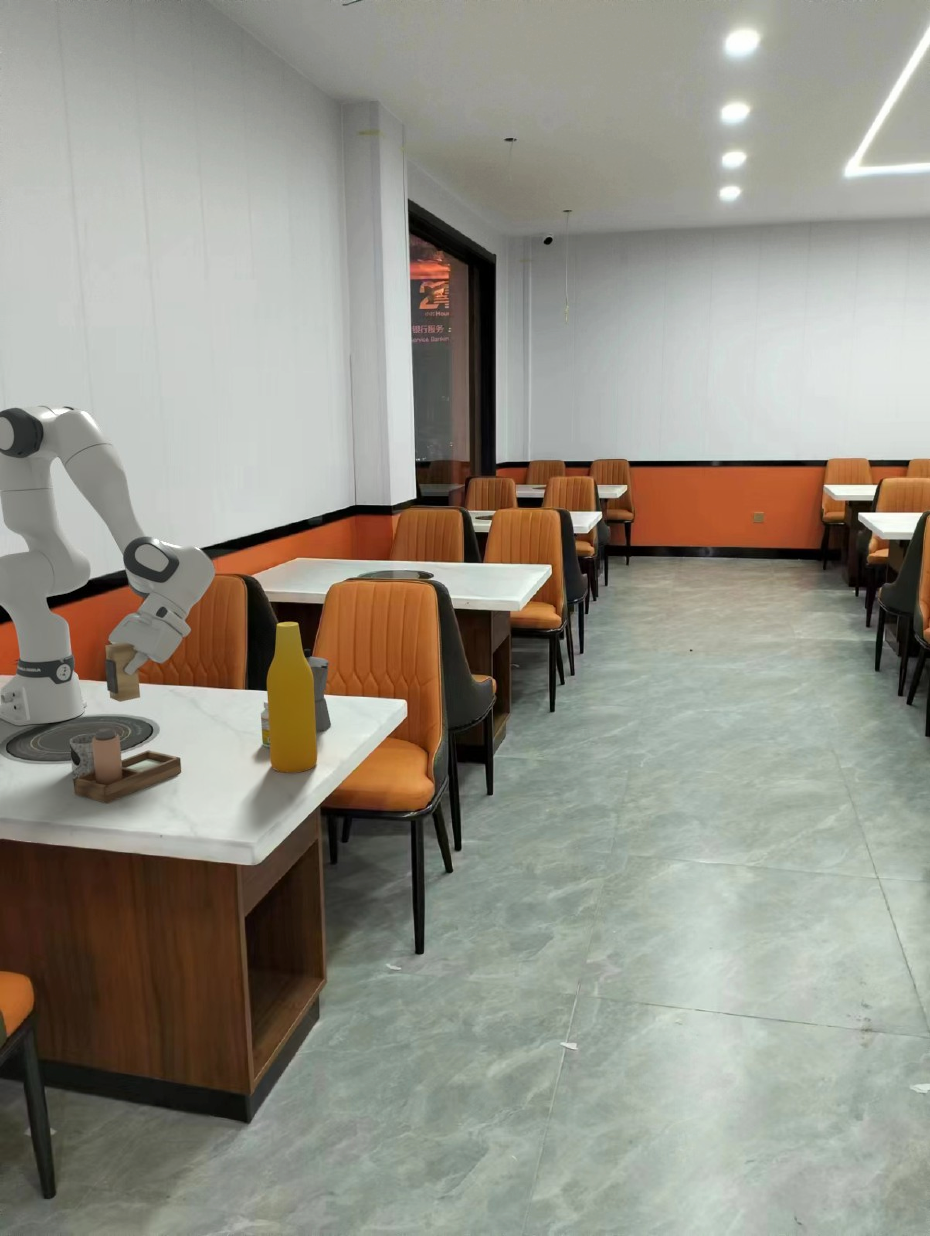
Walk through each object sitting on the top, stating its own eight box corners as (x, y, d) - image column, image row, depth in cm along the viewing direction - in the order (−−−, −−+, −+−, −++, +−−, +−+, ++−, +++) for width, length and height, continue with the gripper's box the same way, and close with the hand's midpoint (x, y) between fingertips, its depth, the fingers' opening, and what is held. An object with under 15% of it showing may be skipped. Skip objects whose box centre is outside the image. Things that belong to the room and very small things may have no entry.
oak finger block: (107, 698, 203) (102, 645, 201) (130, 693, 207) (125, 641, 204) (116, 702, 200) (112, 649, 198) (140, 697, 204) (135, 645, 201)
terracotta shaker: (90, 784, 186) (85, 732, 184) (111, 776, 190) (106, 725, 188) (108, 789, 183) (103, 736, 181) (128, 781, 187) (124, 729, 185)
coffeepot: (345, 727, 222) (342, 649, 219) (313, 738, 215) (309, 657, 212) (301, 714, 232) (298, 639, 229) (269, 724, 225) (264, 647, 222)
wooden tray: (74, 794, 185) (73, 778, 185) (149, 764, 200) (148, 750, 200) (107, 803, 181) (105, 787, 180) (181, 772, 196) (180, 757, 195)
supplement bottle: (278, 738, 216) (276, 695, 214) (293, 743, 212) (291, 700, 210) (257, 744, 212) (255, 700, 210) (271, 750, 208) (269, 705, 206)
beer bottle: (273, 758, 203) (266, 619, 197) (319, 756, 204) (313, 618, 198) (268, 774, 194) (260, 629, 188) (315, 772, 195) (309, 628, 189)
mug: (71, 767, 199) (68, 736, 198) (106, 762, 202) (103, 731, 200) (74, 784, 190) (71, 751, 189) (111, 779, 193) (108, 746, 191)
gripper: (126, 600, 212) (86, 653, 207) (173, 613, 197) (131, 670, 193) (147, 617, 216) (108, 669, 211) (195, 632, 201) (154, 688, 197)
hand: (119, 670), depth 202 cm, fingers closed on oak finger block, 4 cm apart
